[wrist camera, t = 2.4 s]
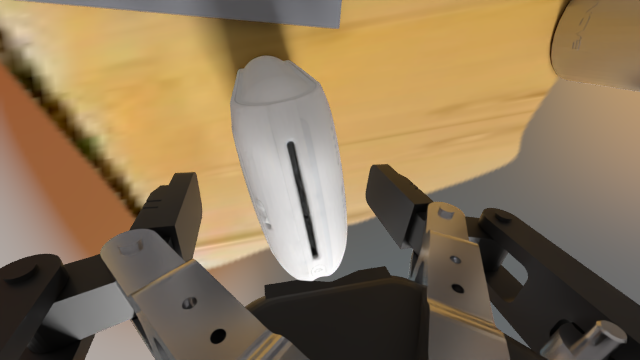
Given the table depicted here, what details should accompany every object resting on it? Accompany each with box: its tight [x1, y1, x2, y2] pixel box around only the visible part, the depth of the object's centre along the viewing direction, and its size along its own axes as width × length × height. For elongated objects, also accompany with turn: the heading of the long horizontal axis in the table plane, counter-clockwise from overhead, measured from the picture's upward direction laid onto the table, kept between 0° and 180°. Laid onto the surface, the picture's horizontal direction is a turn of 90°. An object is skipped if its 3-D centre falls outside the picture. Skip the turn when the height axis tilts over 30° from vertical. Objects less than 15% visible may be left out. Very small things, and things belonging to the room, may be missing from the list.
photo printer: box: [230, 56, 347, 281], centre depth 15 cm, size 10×4×12 cm, turn 9°
